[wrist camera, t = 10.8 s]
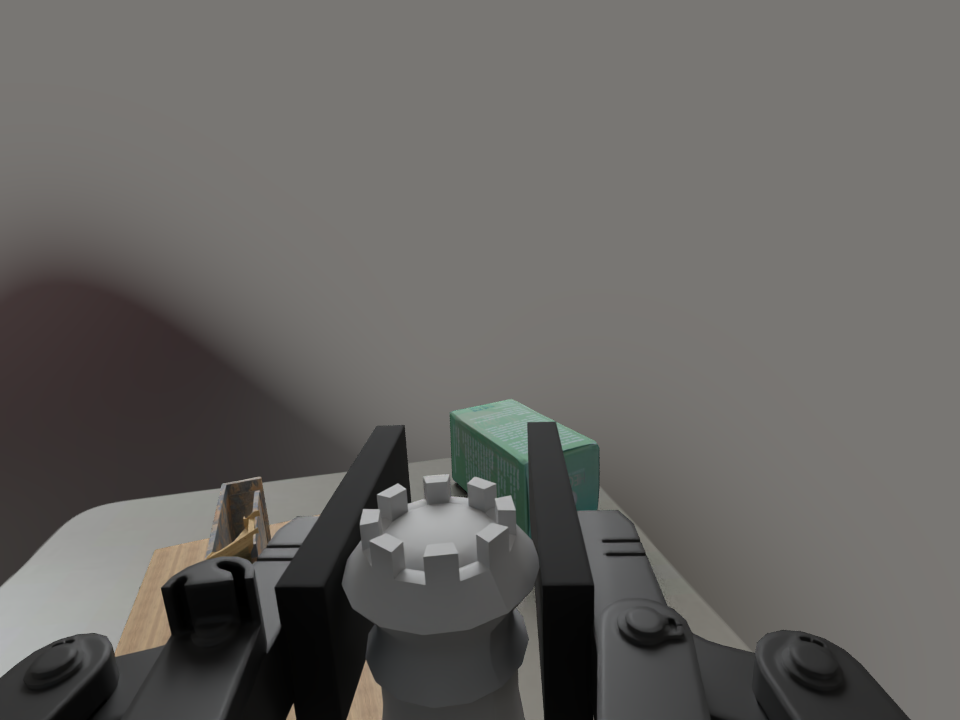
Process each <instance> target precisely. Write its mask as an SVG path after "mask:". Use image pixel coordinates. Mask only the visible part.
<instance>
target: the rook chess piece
mask: <svg viewBox="0 0 960 720" xmlns="http://www.w3.org/2000/svg"><path fill="white" fill-rule="evenodd" d="M423 483H424V495H425V499H422V500H419V501H415V502H412V503H409V504H408V502H407V491H406V488H404V487H403V486H401V485H400V484H398V483H397V484H396V485H394V486H392V487H390V488H388V489H386V490H384V491H382V492H381V493H379V494H377V502H378V509H363V511H362V516H361V521H360V534H361V541H360V542H359V544H358V545H357V546H356V548H355V549H354V551H353V552H352V553H351V555H350V556H349V558H348V559H347V562H346V566H345V571H344V575H343V580H342V587H343V589H344V591H345V593H346V595H347V598H348V600H349V602H350V604H351V606H352V608H353V609H354V610H355V611H357V612H358V613H360V614H361V615H362V616H364V617H365V618H367V619H368V620H369V621H371V622H372V623H374V624H375V625H374V626H373V628H372V629H371V631H370V632H369V634H368V641H367V649H366V656H365V659H366V661H367V664H368V666H369V668H370V671H371V673H372V675H373V678H374V680H375V682H376V683H377V684H379V685H380V686H381V690H382V699H383V715H382V720H525V718H524V713H523V708H522V703H521V698H520V693H519V688H518V668H519V667H520V666H521V665H522V662H523V659H524V655H525V651H526V648H527V644H528V640H529V638H528V634H527V630H526V626H525V622H524V618H523V616H522V615H521V614H520V612H519V611H518V610H517V609H516V607H517V606H518V605H519V603H520V602H521V601H522V600H523V599H524V598H525V597H526V596H527V595H528V594H529V593H530V592H531V590H532V589H533V587H534V584H535V581H536V577H537V574H538V571H539V557H538V554H537V551H536V549H535V546H534V543H533V541H532V540H531V539H530V538H529V537H528V536H527V534H526V533H525V532H524V531H523V530H522V529H521V528H520V527H519V526H518V525H517V524H516V509H515V506H514V503H513V500H512V497H511V495H510V496H505V497H500V498H497V488H496V483H493V482H490V481H487V480H484V479H481V478H478V477H474V478H473V479H472V480H470V481H469V482H468V483H467V488H468V498H462V497H453V496H451V488H450V474H444V475H433V476H423Z"/></svg>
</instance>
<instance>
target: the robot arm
mask: <svg viewBox="0 0 960 720" xmlns="http://www.w3.org/2000/svg"><path fill="white" fill-rule="evenodd" d="M527 433H528V473H529V512H530V527H531V540H532V541H533V543H534V546H535V549H536V551H537V554H538V557H539V571H538V574H537V577H536V581H535V597H536V611H537V624H538V638H539V652H540V666H541V680H542V694H543V708H544V720H593V715H594V720H910V719H909V718H908V717H907V715H906V714H905V713H904V712H903V711H902V710H901V709H900V707H899V706H898V705H897V704H896V703H895V702H894V701H893V699H892V698H891V697H890V696H889V695H888V694H887V693H886V692H885V691H884V689H883V688H882V687H881V686H880V685H879V684H878V683H877V681H876V680H875V679H874V678H873V677H872V676H871V675H870V674H869V672H868V671H867V670H866V669H865V668H864V667H863V666H862V665H861V664H860V663H859V662H858V661H857V660H856V659H855V658H853V657H852V656H851V655H850V654H849V653H848V652H846V651H845V650H844V649H842V648H840V647H839V646H837V645H835V644H833V643H831V642H830V641H828V640H826V639H824V638H821V637H818V636H815V635H812V634H808V633H805V632H801V631H788V630H780V631H776V632H772V633H767V634H766V635H765V636H764V637H762V638H761V639H760V640H759V641H758V642H757V646H756V652H755V653H752V652H748V651H744V650H740V649H736V648H732V647H728V646H723V645H720V644H717V643H714V642H711V641H708V640H706V639H704V638H701V637H699V636H697V635H695V634H693V633H692V632H691V630H690V628H689V626H688V624H687V622H686V620H685V619H684V618H683V617H682V616H681V615H679V614H678V613H677V612H676V611H675V610H674V609H672V608H670V607H668V606H667V604H666V601H665V599H664V596H663V594H662V592H661V589H660V587H659V584H658V582H657V579H656V577H655V575H654V572H653V570H652V567H651V565H650V562H649V560H648V558H647V556H646V554H645V550H644V548H643V545H642V543H641V542H640V538H639V536H638V533H637V531H636V528H635V526H634V524H633V523H632V522H631V521H630V520H629V519H628V518H627V517H625V516H624V515H623V514H622V513H621V512H620V511H618V510H586V511H577V509H576V505H575V500H574V496H573V492H572V488H571V483H570V479H569V475H568V471H567V466H566V462H565V458H564V454H563V449H562V445H561V441H560V437H559V432H558V428H557V424H556V422H527ZM397 483H398V484H400V485H401V486H403V487H404V488H406V491H407V502H408V504H409V503H411V494H410V483H409V471H408V460H407V449H406V437H405V426H404V425H395V426H376V428H375V430H374V431H373V433H372V434H371V436H370V437H369V439H368V441H367V442H366V444H365V445H364V447H363V448H362V450H361V452H360V453H359V455H358V457H357V458H356V460H355V461H354V463H353V464H352V466H351V467H350V469H349V470H348V472H347V474H346V475H345V477H344V478H343V480H342V481H341V483H340V485H339V486H338V488H337V489H336V491H335V492H334V494H333V496H332V497H331V499H330V500H329V502H328V503H327V505H326V507H325V508H324V510H323V511H322V513H321V515H320V516H297V517H296V518H294V519H293V520H291V521H290V522H288V523H287V524H286V525H284V526H283V527H281V528H280V529H278V531H277V532H276V533H275V535H274V536H273V537H272V539H271V540H270V541H269V543H268V544H267V547H266V548H264V549H263V551H262V552H261V554H260V555H259V556H258V558H257V562H254V563H253V564H251V563H250V561H249V560H246V559H243V558H241V557H234V556H222V557H217V558H212V559H207V560H204V561H201V562H199V563H196V564H194V565H191V566H189V567H187V568H185V569H183V570H182V571H180V572H179V573H177V574H175V575H174V576H172V577H171V578H170V579H169V580H168V581H167V582H166V583H165V584H164V585H163V586H162V587H161V592H162V596H163V600H164V605H165V609H166V613H167V618H168V622H169V627H170V631H171V636H170V638H169V639H168V641H167V643H166V644H165V645H162V646H159V647H155V648H151V649H147V650H143V651H138V652H134V653H130V654H126V655H121V656H117V657H115V654H114V651H113V647H112V644H111V642H110V641H109V639H108V638H107V636H103V635H100V634H96V633H89V634H78V635H74V636H71V637H67V638H63V639H60V640H57V641H55V642H53V643H51V644H49V645H47V646H45V647H43V648H41V649H39V650H37V651H35V652H34V653H32V654H31V655H29V656H28V657H26V658H25V659H24V660H22V661H21V662H19V663H18V664H16V665H15V666H14V667H13V668H12V669H10V670H9V671H8V672H7V673H6V674H4V675H3V676H2V677H1V678H0V720H286V719H287V716H288V714H289V712H290V710H291V707H292V705H293V703H294V709H295V715H296V720H347V717H348V714H349V711H350V708H351V704H352V701H353V698H354V695H355V692H356V689H357V686H358V683H359V680H360V676H361V673H362V670H363V667H364V664H365V661H366V659H365V656H366V649H367V641H368V634H369V632H370V631H371V629H372V628H373V626H374V625H375V624H374V623H372V622H371V621H369V620H368V619H367V618H365V617H364V616H362V615H361V614H360V613H358V612H357V611H355V610H354V609H353V608H352V606H351V604H350V602H349V600H348V598H347V595H346V593H345V591H344V589H343V587H342V580H343V575H344V571H345V566H346V562H347V559H348V558H349V556H350V555H351V553H352V552H353V551H354V549H355V548H356V546H357V545H358V544H359V542H360V541H361V534H360V521H361V516H362V511H363V509H378V502H377V494H379V493H381V492H382V491H384V490H386V489H388V488H390V487H392V486H394V485H396V484H397Z"/></svg>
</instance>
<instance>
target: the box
mask: <svg viewBox="0 0 960 720" xmlns="http://www.w3.org/2000/svg"><path fill="white" fill-rule="evenodd" d="M527 422H555V421H553V420H552V419H550V418H548V417H545V416H543V415H542V414H540V413H538V412H536V411H534V410H532V409H530V408H528V407H526V406H524V405H523V404H521V403H519V402H517V401H515V400H513V399H509V400H504V401H500V402H495V403H490V404H485V405H480V406H475V407H470V408H465V409H461V410H455V411H452V412H450V429H451V430H450V431H451V456H452V457H451V458H452V478H453V480H454V481H455V482H457V483H458V484H459V485H460V486H461V487H462V488H463V489H464V490H465V491H466V492H467V493H468V488H467V483H468V482H469V481H470V480H472V479H473V478H474V477H478V478H481V479H484V480H487V481H490V482H493V483H496V488H497V498H500V497H505V496H510V495H511V497H512V500H513V503H514V506H515V509H516V524H517V525H518V526H519V527H520V528H521V529H522V530H523V531H524V532H525V533H526V534H527V536H528V537H529V538H530V539H531V527H530V512H529V473H528V433H527ZM556 424H557V428H558V432H559V437H560V441H561V445H562V449H563V454H564V458H565V462H566V466H567V471H568V475H569V479H570V483H571V488H572V492H573V496H574V500H575V505H576V509H577V511H586V510H597V508H598V498H599V447H598V445H597V443H596V441H594V440H591V439H590V438H588V437H586V436H584V435H582V434H580V433H577V432H575V431H573V430H571V429H569V428H567V427H565V426H563V425H561V424H559V423H557V422H556Z"/></svg>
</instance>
